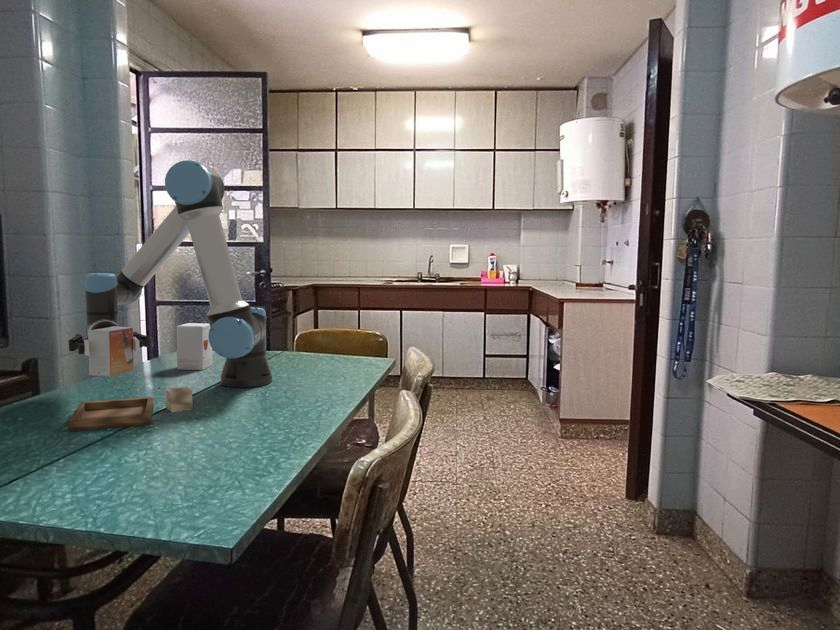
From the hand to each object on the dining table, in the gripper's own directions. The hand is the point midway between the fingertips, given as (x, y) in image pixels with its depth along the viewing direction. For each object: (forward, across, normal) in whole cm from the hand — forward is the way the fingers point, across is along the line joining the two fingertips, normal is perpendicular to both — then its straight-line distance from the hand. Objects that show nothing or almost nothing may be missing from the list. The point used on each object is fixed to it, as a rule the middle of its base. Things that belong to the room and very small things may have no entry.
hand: (113, 348), depth 124 cm
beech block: (-6, -15, -18) cm, 24 cm away
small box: (-4, 0, -7) cm, 8 cm away
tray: (-4, 0, -17) cm, 18 cm away
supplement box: (-57, -29, -18) cm, 66 cm away
